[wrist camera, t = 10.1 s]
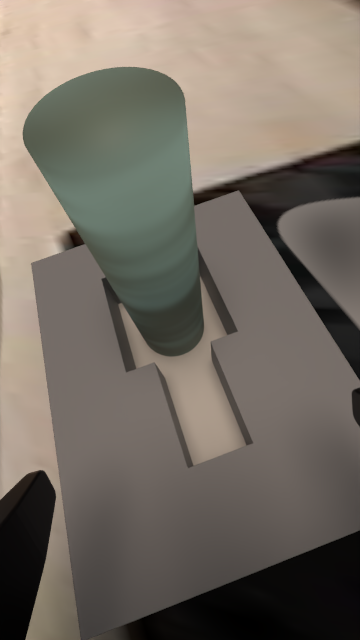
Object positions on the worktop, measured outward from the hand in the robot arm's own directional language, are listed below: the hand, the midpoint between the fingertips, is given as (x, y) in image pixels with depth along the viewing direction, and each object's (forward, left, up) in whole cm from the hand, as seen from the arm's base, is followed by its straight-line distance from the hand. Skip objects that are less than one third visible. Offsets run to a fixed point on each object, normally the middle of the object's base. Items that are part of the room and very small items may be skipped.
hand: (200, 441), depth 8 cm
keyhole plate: (+4, 0, -9) cm, 10 cm away
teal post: (+7, 0, -8) cm, 11 cm away
